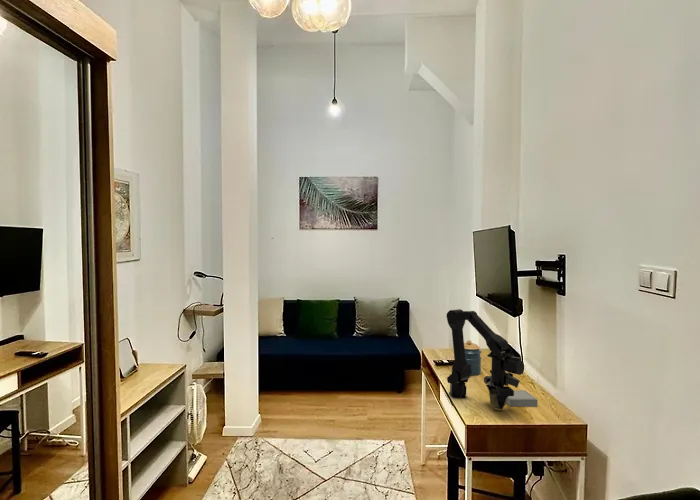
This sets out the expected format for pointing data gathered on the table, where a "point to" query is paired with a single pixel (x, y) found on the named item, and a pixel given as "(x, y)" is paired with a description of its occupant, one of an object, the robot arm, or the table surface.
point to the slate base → (521, 399)
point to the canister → (473, 357)
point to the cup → (495, 400)
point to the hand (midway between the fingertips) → (497, 405)
